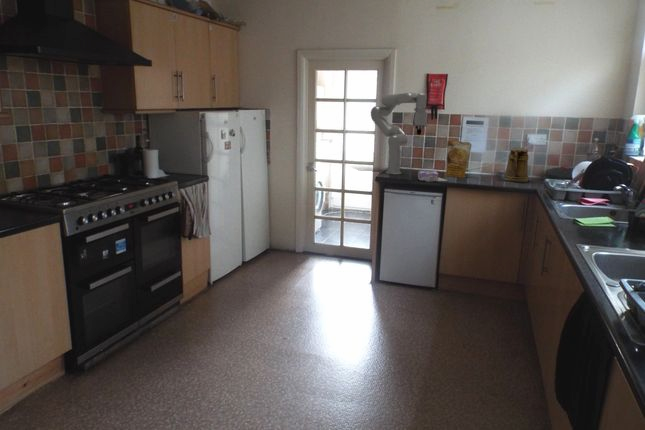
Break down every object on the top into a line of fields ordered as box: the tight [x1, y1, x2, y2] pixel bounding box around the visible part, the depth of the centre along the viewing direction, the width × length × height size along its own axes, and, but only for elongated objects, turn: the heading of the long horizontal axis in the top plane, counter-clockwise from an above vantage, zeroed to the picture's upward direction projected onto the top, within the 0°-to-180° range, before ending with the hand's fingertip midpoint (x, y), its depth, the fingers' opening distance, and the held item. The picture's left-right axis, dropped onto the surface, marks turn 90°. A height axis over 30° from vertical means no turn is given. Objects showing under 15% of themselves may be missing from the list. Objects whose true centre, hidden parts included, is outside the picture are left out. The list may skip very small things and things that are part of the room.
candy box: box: [417, 169, 439, 182], centre depth 366 cm, size 14×6×16 cm
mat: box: [418, 176, 449, 183], centre depth 367 cm, size 14×18×1 cm
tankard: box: [503, 147, 530, 183], centre depth 368 cm, size 18×24×25 cm
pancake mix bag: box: [445, 140, 472, 179], centre depth 381 cm, size 7×19×28 cm, turn 53°
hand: (418, 134), depth 369 cm, fingers closed
